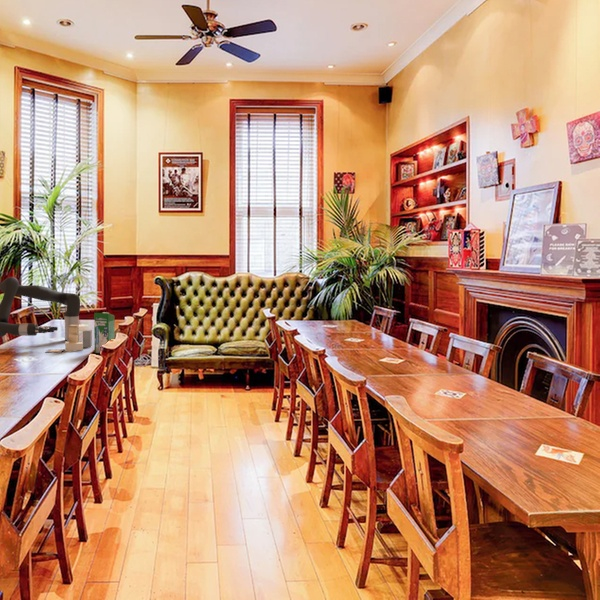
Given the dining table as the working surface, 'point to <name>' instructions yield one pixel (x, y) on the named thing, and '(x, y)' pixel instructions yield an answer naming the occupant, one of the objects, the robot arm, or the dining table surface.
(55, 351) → the tile
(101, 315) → the milk carton
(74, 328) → the maple block
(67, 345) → the base block
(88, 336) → the slate block
